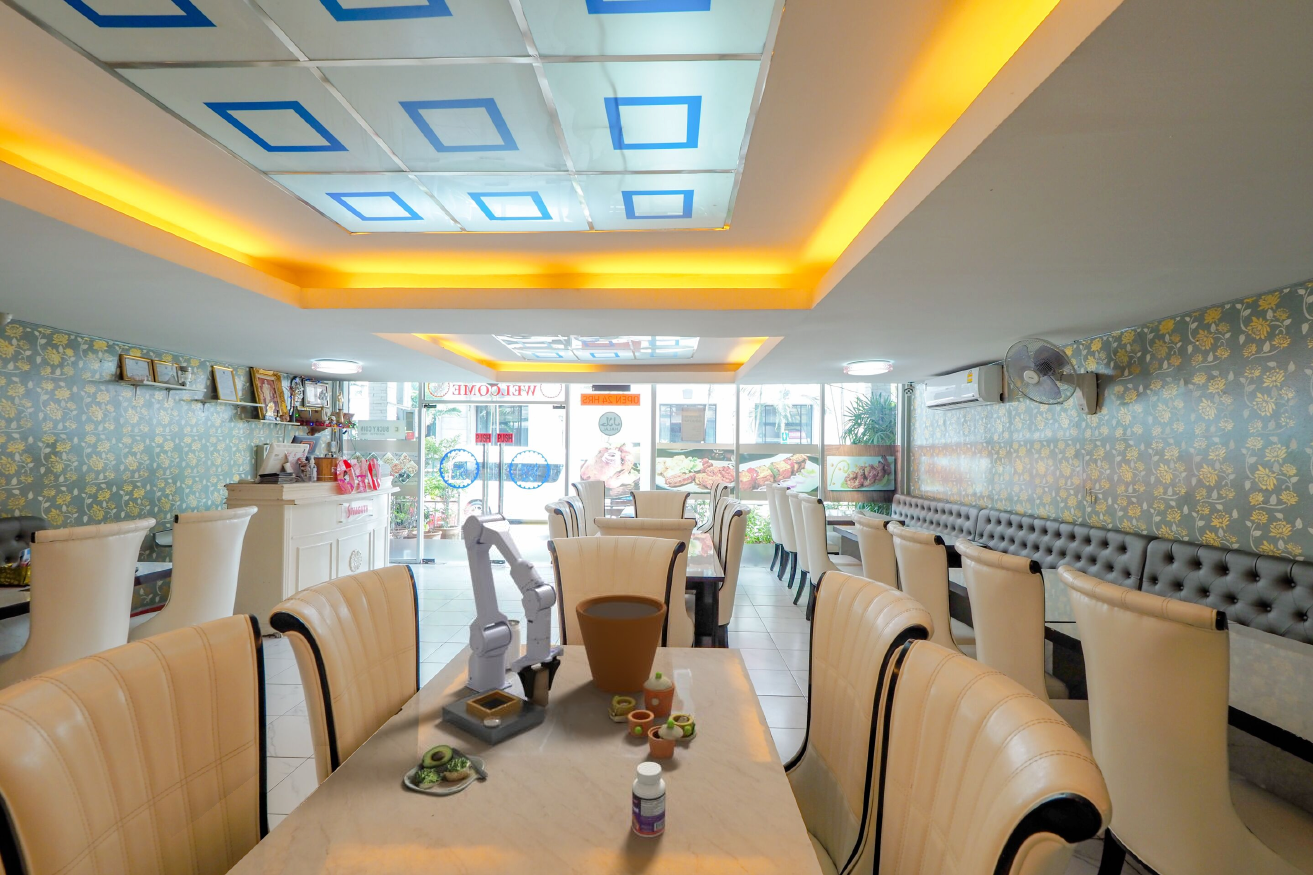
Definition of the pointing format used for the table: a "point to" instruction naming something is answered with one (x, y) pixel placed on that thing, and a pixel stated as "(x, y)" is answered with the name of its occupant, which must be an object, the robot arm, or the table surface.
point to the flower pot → (621, 639)
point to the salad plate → (444, 770)
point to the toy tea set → (656, 705)
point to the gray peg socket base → (493, 715)
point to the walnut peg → (541, 686)
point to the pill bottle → (648, 800)
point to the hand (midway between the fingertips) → (537, 693)
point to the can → (513, 644)
